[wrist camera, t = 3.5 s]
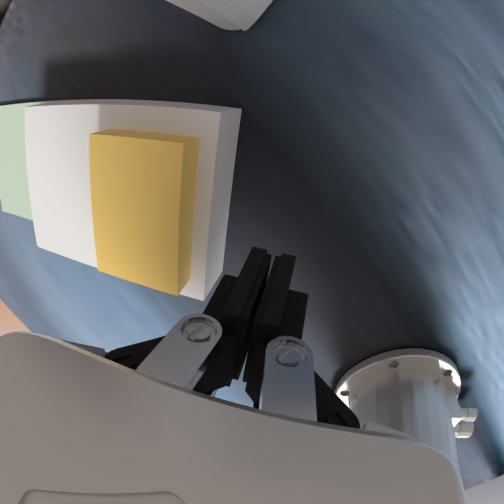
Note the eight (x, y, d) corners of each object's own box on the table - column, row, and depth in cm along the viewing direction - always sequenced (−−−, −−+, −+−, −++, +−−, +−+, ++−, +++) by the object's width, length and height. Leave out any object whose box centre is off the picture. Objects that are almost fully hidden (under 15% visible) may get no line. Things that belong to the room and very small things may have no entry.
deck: (241, 108, 19) (220, 112, 15) (222, 270, 25) (203, 301, 21) (59, 100, 21) (24, 107, 18) (65, 227, 27) (37, 246, 24)
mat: (57, 100, 21) (54, 101, 21) (63, 227, 27) (60, 228, 27) (-4, 106, 23) (-7, 106, 23) (4, 209, 29) (2, 210, 28)
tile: (199, 137, 16) (183, 143, 15) (190, 278, 21) (177, 295, 19) (110, 128, 17) (89, 134, 16) (114, 256, 22) (98, 270, 20)
